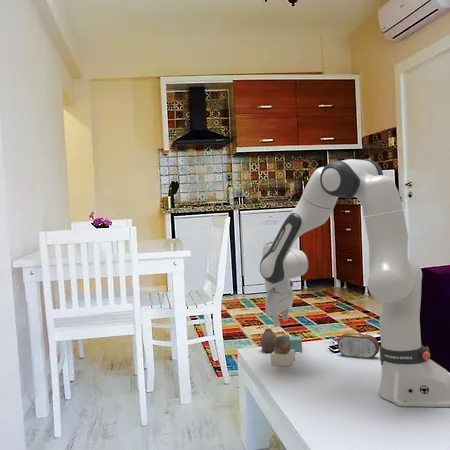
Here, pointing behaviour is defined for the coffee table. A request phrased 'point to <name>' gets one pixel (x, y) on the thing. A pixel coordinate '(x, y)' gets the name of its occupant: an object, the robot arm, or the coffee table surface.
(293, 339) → the teal cube
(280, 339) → the walnut block
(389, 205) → the robot arm
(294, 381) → the coffee table surface
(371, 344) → the tin
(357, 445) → the coffee table surface
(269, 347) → the vase
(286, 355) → the limestone block
